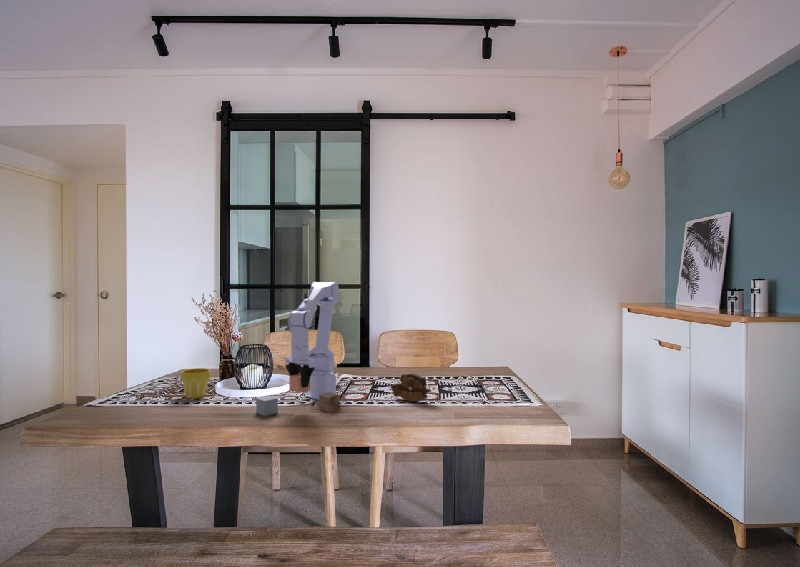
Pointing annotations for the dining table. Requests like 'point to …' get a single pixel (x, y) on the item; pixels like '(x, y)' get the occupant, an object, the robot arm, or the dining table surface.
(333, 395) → the walnut block
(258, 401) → the slate block
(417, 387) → the wooden carving
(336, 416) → the dining table surface
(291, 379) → the terracotta block
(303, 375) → the robot arm
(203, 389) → the plant pot
